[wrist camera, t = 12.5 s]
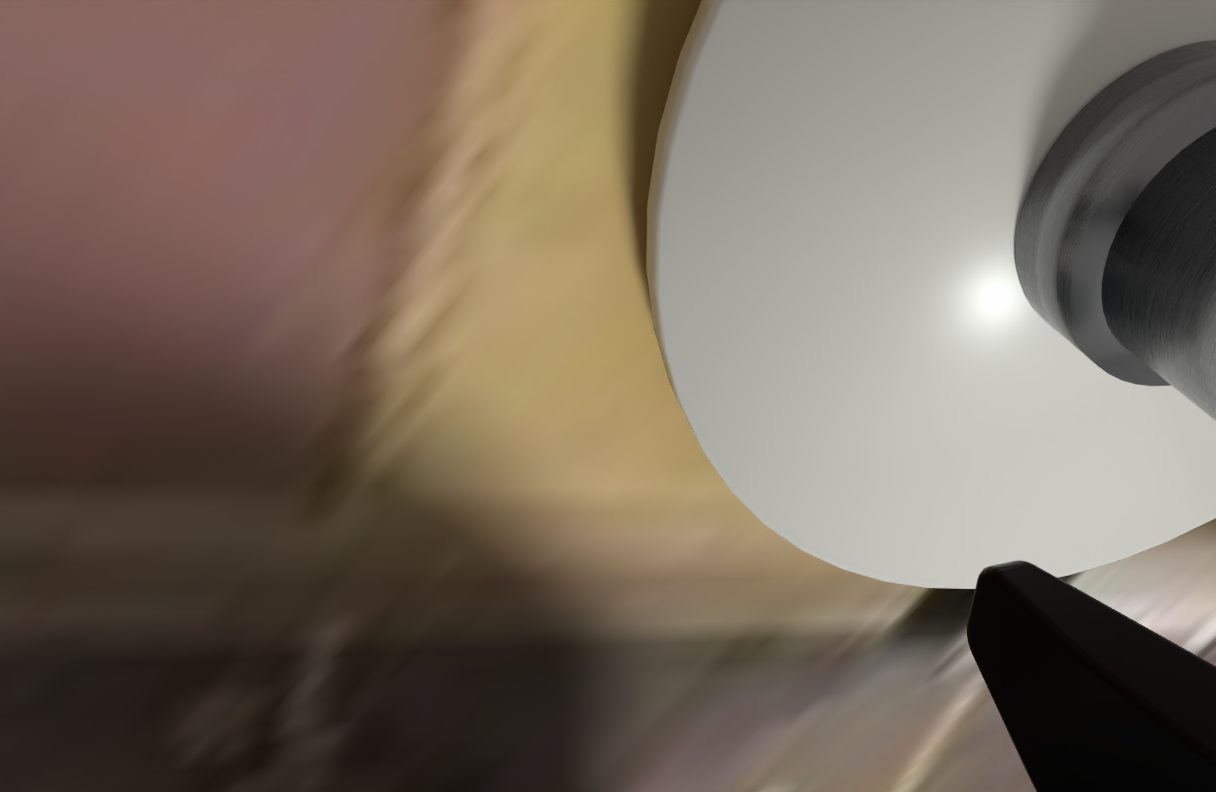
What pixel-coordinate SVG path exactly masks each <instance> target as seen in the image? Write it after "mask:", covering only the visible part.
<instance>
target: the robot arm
mask: <svg viewBox="0 0 1216 792" xmlns="http://www.w3.org/2000/svg"><path fill="white" fill-rule="evenodd" d="M967 638H968V643H969V646H970V649H971V652H972V654H973V657H974V659H975V661H976V663H977V665H978V667H979V670H980V672H981V674H982V676H983V678H984V680H985V683H986V685H987V687H988V689H989V691H990V693H991V696H992V698H993V700H994V702H995V704H996V707H997V709H998V711H999V713H1000V715H1001V717H1002V720H1003V722H1004V724H1005V726H1006V728H1007V730H1008V733H1009V735H1010V737H1011V739H1012V741H1013V743H1014V746H1015V748H1016V750H1017V752H1018V754H1019V756H1020V759H1021V761H1022V763H1023V765H1024V767H1025V769H1026V772H1027V774H1028V776H1029V778H1030V780H1031V782H1032V784H1033V786H1034V788H1035V790H1036V792H1216V666H1214V665H1212V664H1211V663H1209V662H1207V661H1205V660H1203V659H1202V658H1200V657H1198V656H1196V655H1194V654H1193V653H1191V652H1189V651H1187V650H1186V649H1184V648H1182V647H1180V646H1178V645H1177V644H1175V643H1173V642H1171V641H1169V640H1168V639H1166V638H1164V637H1162V636H1161V635H1159V634H1157V633H1155V632H1153V631H1152V630H1150V629H1148V628H1146V627H1144V626H1143V625H1141V624H1139V623H1137V622H1136V621H1134V620H1132V619H1130V618H1128V617H1127V616H1125V615H1123V614H1121V613H1119V612H1118V611H1116V610H1114V609H1112V608H1111V607H1109V606H1107V605H1105V604H1103V603H1102V602H1100V601H1098V600H1096V599H1094V598H1093V597H1091V596H1089V595H1087V594H1086V593H1084V592H1082V591H1080V590H1078V589H1077V588H1075V587H1073V586H1071V585H1069V584H1068V583H1066V582H1064V581H1062V580H1061V579H1059V578H1057V577H1055V576H1053V575H1052V574H1050V573H1048V572H1046V571H1044V570H1043V569H1041V568H1039V567H1037V566H1036V565H1034V564H1031V563H1029V562H1026V561H1021V560H1017V561H1011V562H1006V563H1002V564H997V565H992V566H988V567H986V568H984V569H983V570H982V572H981V573H980V574H979V576H978V579H977V584H976V588H975V592H974V597H973V601H972V605H971V610H970V614H969V619H968V623H967Z"/></svg>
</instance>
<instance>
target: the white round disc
mask: <svg viewBox="0 0 1216 792" xmlns="http://www.w3.org/2000/svg"><path fill="white" fill-rule="evenodd" d="M1213 40H1216V0H702V1H701V3H700V6H699V8H698V11H697V13H696V16H695V18H694V20H693V23H692V25H691V28H690V30H689V33H688V35H687V37H686V40H685V42H684V45H683V47H682V50H681V52H680V55H679V58H678V62H677V65H676V69H675V73H674V76H673V80H672V83H671V87H670V91H669V94H668V98H667V101H666V105H665V108H664V112H663V116H662V119H661V123H660V126H659V130H658V136H657V142H656V149H655V156H654V162H653V169H652V176H651V182H650V189H649V196H648V202H647V261H646V271H647V279H648V286H649V294H650V302H651V310H652V317H653V325H654V331H655V335H656V338H657V341H658V345H659V348H660V352H661V355H662V359H663V362H664V365H665V369H666V372H667V376H668V379H669V383H670V385H671V387H672V389H673V391H674V393H675V395H676V397H677V399H678V401H679V404H680V406H681V408H682V410H683V412H684V414H685V416H686V418H687V420H688V422H689V424H690V426H691V429H692V430H693V432H694V434H695V436H696V438H697V440H698V442H699V444H700V446H701V447H702V449H703V451H704V453H705V455H706V456H707V458H708V459H709V461H710V462H711V463H712V465H713V466H714V468H715V469H716V470H717V472H718V473H719V474H720V476H721V477H722V479H723V480H724V481H725V483H726V484H727V486H728V487H729V488H730V490H731V491H732V493H733V494H734V495H735V496H736V497H737V498H738V499H739V500H740V501H741V502H742V503H743V504H744V505H745V506H746V507H747V508H748V509H749V510H750V511H751V512H753V513H754V514H755V515H756V516H757V517H758V518H759V519H760V520H761V521H762V522H763V523H764V524H765V525H766V526H767V527H769V528H770V529H772V530H773V531H775V532H776V533H777V534H779V535H780V536H782V537H783V538H785V539H786V540H788V541H789V542H791V543H792V544H794V545H795V546H797V547H798V548H799V549H801V550H802V551H804V552H807V553H809V554H811V555H813V556H815V557H817V558H820V559H822V560H824V561H826V562H828V563H830V564H832V565H835V566H837V567H839V568H841V569H844V570H847V571H851V572H854V573H857V574H861V575H864V576H868V577H871V578H875V579H878V580H881V581H885V582H892V583H899V584H906V585H913V586H920V587H927V588H962V589H975V588H976V584H977V579H978V576H979V574H980V573H981V572H982V570H983V569H984V568H986V567H988V566H992V565H997V564H1002V563H1006V562H1011V561H1017V560H1021V561H1026V562H1029V563H1031V564H1034V565H1036V566H1037V567H1039V568H1041V569H1043V570H1044V571H1046V572H1048V573H1050V574H1052V575H1053V576H1055V577H1062V576H1067V575H1071V574H1074V573H1078V572H1081V571H1085V570H1088V569H1091V568H1095V567H1098V566H1102V565H1105V564H1108V563H1112V562H1115V561H1118V560H1121V559H1124V558H1126V557H1129V556H1131V555H1134V554H1136V553H1139V552H1142V551H1144V550H1147V549H1149V548H1152V547H1154V546H1157V545H1160V544H1162V543H1165V542H1167V541H1169V540H1171V539H1173V538H1175V537H1177V536H1179V535H1182V534H1184V533H1186V532H1188V531H1190V530H1192V529H1194V528H1196V527H1198V526H1200V525H1202V524H1204V523H1206V522H1209V521H1211V520H1213V519H1215V518H1216V421H1215V420H1214V419H1213V418H1211V417H1210V416H1209V415H1208V414H1207V413H1205V412H1204V411H1203V410H1202V409H1200V408H1199V407H1198V406H1197V405H1195V404H1194V403H1193V402H1192V401H1190V400H1189V399H1188V398H1187V397H1185V396H1184V395H1183V394H1182V393H1180V392H1179V391H1178V390H1177V389H1175V388H1174V387H1173V386H1172V385H1170V386H1146V385H1137V384H1133V383H1129V382H1126V381H1122V380H1120V379H1118V378H1116V377H1114V376H1111V375H1109V374H1108V373H1106V372H1105V371H1104V370H1102V369H1101V368H1100V367H1098V366H1097V365H1096V364H1095V363H1094V362H1092V361H1091V360H1090V359H1089V358H1088V357H1087V356H1085V355H1084V354H1083V353H1082V352H1081V351H1080V350H1078V349H1077V348H1076V347H1075V346H1074V345H1073V344H1071V343H1070V342H1069V341H1068V340H1067V339H1066V338H1064V337H1063V336H1062V335H1061V334H1060V333H1059V332H1057V331H1056V330H1055V329H1054V328H1053V327H1052V326H1050V325H1049V324H1048V323H1047V322H1046V321H1045V320H1043V319H1042V318H1041V317H1040V316H1039V315H1038V314H1037V312H1036V311H1035V310H1034V309H1033V308H1032V307H1031V305H1030V303H1029V302H1028V300H1027V298H1026V297H1025V295H1024V293H1023V290H1022V287H1021V285H1020V282H1019V278H1018V273H1017V267H1016V252H1015V245H1016V236H1017V227H1018V223H1019V219H1020V214H1021V210H1022V207H1023V204H1024V201H1025V198H1026V195H1027V192H1028V190H1029V187H1030V185H1031V183H1032V181H1033V179H1034V177H1035V175H1036V172H1037V170H1038V168H1039V166H1040V165H1041V163H1042V161H1043V160H1044V158H1045V156H1046V155H1047V153H1048V151H1049V150H1050V148H1051V147H1052V145H1053V144H1054V143H1055V141H1056V140H1057V138H1058V137H1059V136H1060V134H1061V133H1062V132H1063V130H1064V129H1065V128H1066V127H1067V125H1068V124H1069V123H1070V122H1071V121H1072V120H1073V119H1074V117H1075V116H1076V115H1077V114H1078V113H1079V112H1080V111H1081V110H1082V109H1083V108H1084V107H1085V106H1086V105H1087V104H1088V103H1089V102H1090V101H1091V100H1092V99H1093V98H1094V97H1095V96H1096V95H1097V94H1099V93H1100V92H1101V91H1102V90H1103V89H1105V88H1106V87H1107V86H1109V85H1110V84H1111V83H1112V82H1114V81H1115V80H1116V79H1117V78H1119V77H1120V76H1122V75H1123V74H1125V73H1127V72H1128V71H1130V70H1131V69H1133V68H1134V67H1136V66H1138V65H1139V64H1141V63H1143V62H1145V61H1147V60H1149V59H1151V58H1153V57H1155V56H1157V55H1159V54H1161V53H1164V52H1167V51H1169V50H1172V49H1175V48H1178V47H1180V46H1184V45H1189V44H1193V43H1197V42H1202V41H1213Z"/></svg>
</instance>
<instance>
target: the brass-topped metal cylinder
mask: <svg viewBox="0 0 1216 792" xmlns="http://www.w3.org/2000/svg"><path fill="white" fill-rule="evenodd" d="M1015 252H1016V267H1017V273H1018V278H1019V282H1020V285H1021V287H1022V290H1023V293H1024V295H1025V297H1026V298H1027V300H1028V302H1029V303H1030V305H1031V307H1032V308H1033V309H1034V310H1035V311H1036V312H1037V314H1038V315H1039V316H1040V317H1041V318H1042V319H1043V320H1045V321H1046V322H1047V323H1048V324H1049V325H1050V326H1052V327H1053V328H1054V329H1055V330H1056V331H1057V332H1059V333H1060V334H1061V335H1062V336H1063V337H1064V338H1066V339H1067V340H1068V341H1069V342H1070V343H1071V344H1073V345H1074V346H1075V347H1076V348H1077V349H1078V350H1080V351H1081V352H1082V353H1083V354H1084V355H1085V356H1087V357H1088V358H1089V359H1090V360H1091V361H1092V362H1094V363H1095V364H1096V365H1097V366H1098V367H1100V368H1101V369H1102V370H1104V371H1105V372H1106V373H1108V374H1109V375H1111V376H1114V377H1116V378H1118V379H1120V380H1122V381H1126V382H1129V383H1133V384H1137V385H1146V386H1170V385H1172V386H1173V387H1174V388H1175V389H1177V390H1178V391H1179V392H1180V393H1182V394H1183V395H1184V396H1185V397H1187V398H1188V399H1189V400H1190V401H1192V402H1193V403H1194V404H1195V405H1197V406H1198V407H1199V408H1200V409H1202V410H1203V411H1204V412H1205V413H1207V414H1208V415H1209V416H1210V417H1211V418H1213V419H1214V420H1215V421H1216V40H1213V41H1202V42H1197V43H1193V44H1189V45H1184V46H1180V47H1178V48H1175V49H1172V50H1169V51H1167V52H1164V53H1161V54H1159V55H1157V56H1155V57H1153V58H1151V59H1149V60H1147V61H1145V62H1143V63H1141V64H1139V65H1138V66H1136V67H1134V68H1133V69H1131V70H1130V71H1128V72H1127V73H1125V74H1123V75H1122V76H1120V77H1119V78H1117V79H1116V80H1115V81H1114V82H1112V83H1111V84H1110V85H1109V86H1107V87H1106V88H1105V89H1103V90H1102V91H1101V92H1100V93H1099V94H1097V95H1096V96H1095V97H1094V98H1093V99H1092V100H1091V101H1090V102H1089V103H1088V104H1087V105H1086V106H1085V107H1084V108H1083V109H1082V110H1081V111H1080V112H1079V113H1078V114H1077V115H1076V116H1075V117H1074V119H1073V120H1072V121H1071V122H1070V123H1069V124H1068V125H1067V127H1066V128H1065V129H1064V130H1063V132H1062V133H1061V134H1060V136H1059V137H1058V138H1057V140H1056V141H1055V143H1054V144H1053V145H1052V147H1051V148H1050V150H1049V151H1048V153H1047V155H1046V156H1045V158H1044V160H1043V161H1042V163H1041V165H1040V166H1039V168H1038V170H1037V172H1036V175H1035V177H1034V179H1033V181H1032V183H1031V185H1030V187H1029V190H1028V192H1027V195H1026V198H1025V201H1024V204H1023V207H1022V210H1021V214H1020V219H1019V223H1018V227H1017V236H1016V245H1015Z"/></svg>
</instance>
